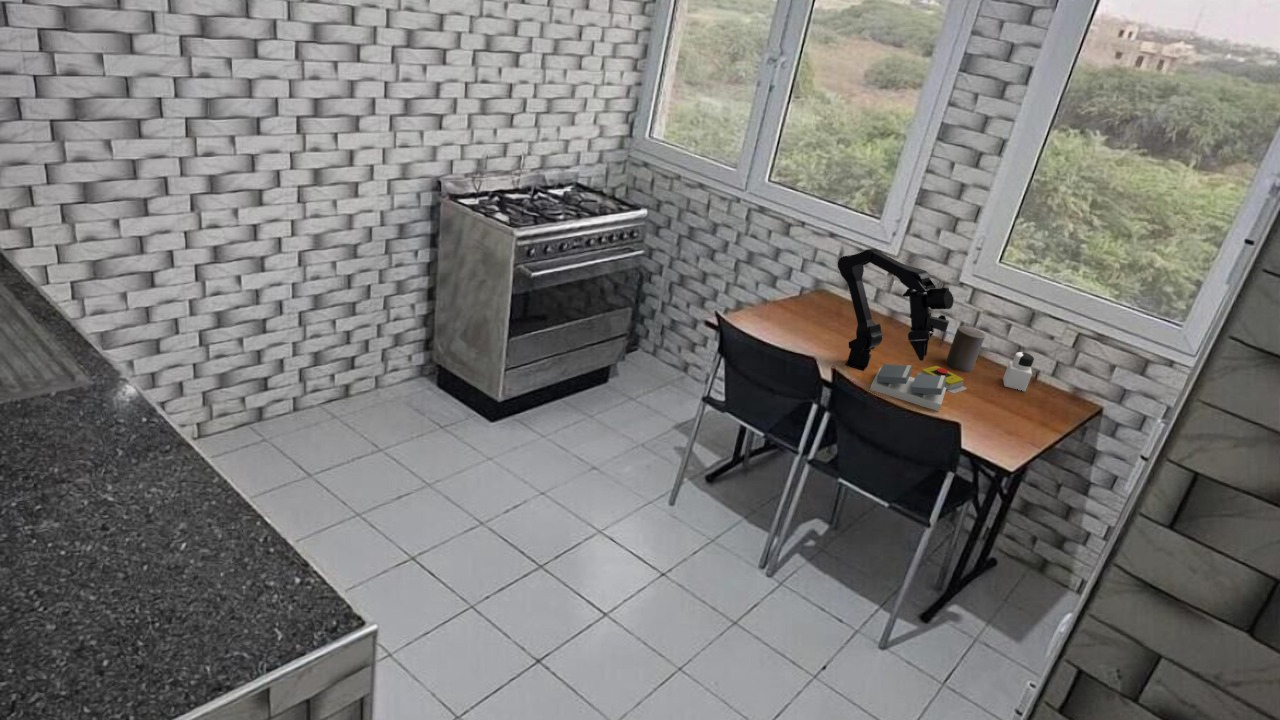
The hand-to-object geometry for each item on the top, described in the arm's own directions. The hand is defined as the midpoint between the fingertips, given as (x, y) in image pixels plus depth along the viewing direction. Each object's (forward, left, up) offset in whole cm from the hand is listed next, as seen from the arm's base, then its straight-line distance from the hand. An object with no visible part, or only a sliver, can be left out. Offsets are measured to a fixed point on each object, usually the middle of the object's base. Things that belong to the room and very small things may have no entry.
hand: (923, 358), depth 270 cm
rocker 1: (-7, -2, -7) cm, 10 cm away
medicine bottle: (+31, +35, -13) cm, 48 cm away
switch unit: (-1, -1, -13) cm, 13 cm away
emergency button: (+8, +17, -13) cm, 23 cm away
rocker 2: (+4, -2, -7) cm, 9 cm away
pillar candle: (+12, +38, -13) cm, 41 cm away
